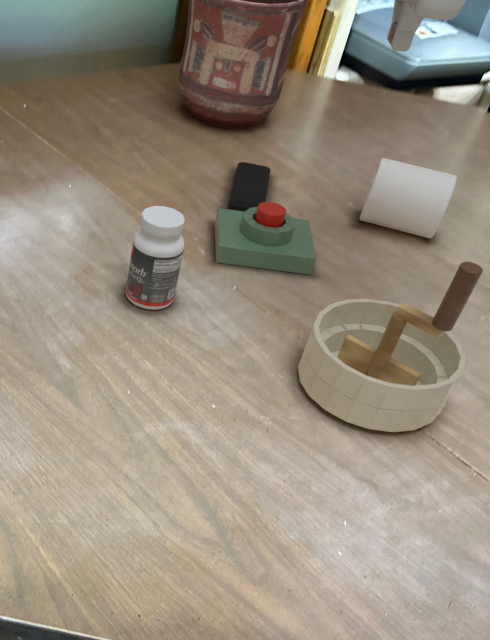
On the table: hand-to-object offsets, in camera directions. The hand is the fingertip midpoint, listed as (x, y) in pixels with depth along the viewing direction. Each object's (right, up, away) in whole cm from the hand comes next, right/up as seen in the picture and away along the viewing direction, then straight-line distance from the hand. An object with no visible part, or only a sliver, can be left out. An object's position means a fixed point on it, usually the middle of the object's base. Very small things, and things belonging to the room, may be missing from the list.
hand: (396, 46), depth 77 cm
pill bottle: (-24, -21, +13) cm, 34 cm away
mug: (+13, -5, +31) cm, 34 cm away
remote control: (-8, 0, +33) cm, 34 cm away
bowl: (-1, -33, +5) cm, 34 cm away
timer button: (-8, -9, +20) cm, 23 cm away
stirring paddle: (-1, -33, +4) cm, 33 cm away
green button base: (-8, -12, +23) cm, 27 cm away
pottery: (-8, +21, +51) cm, 56 cm away
